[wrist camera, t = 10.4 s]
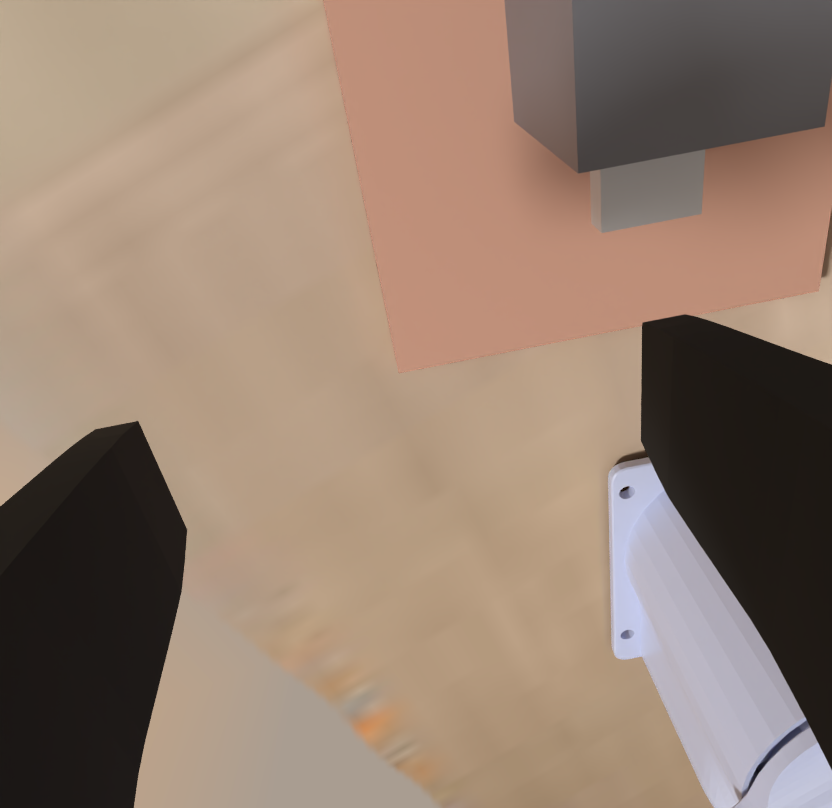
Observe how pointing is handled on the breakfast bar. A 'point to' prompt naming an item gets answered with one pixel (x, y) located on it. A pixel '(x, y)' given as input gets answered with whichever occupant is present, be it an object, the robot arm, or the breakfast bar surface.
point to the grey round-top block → (663, 89)
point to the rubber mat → (541, 201)
